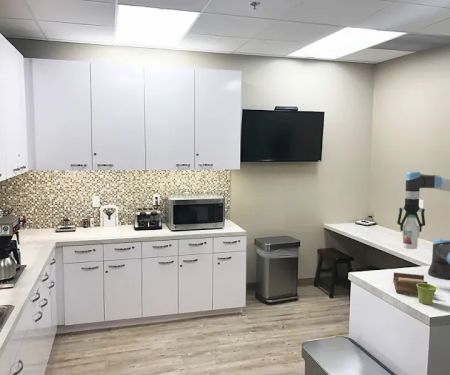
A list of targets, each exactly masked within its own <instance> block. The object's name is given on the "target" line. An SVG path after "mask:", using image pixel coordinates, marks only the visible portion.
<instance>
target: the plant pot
mask: <svg viewBox="0 0 450 375" xmlns="http://www.w3.org/2000/svg"><path fill="white" fill-rule="evenodd" d="M416 285H417V288H418V296H417V297H418V298H417V299H418V302H419V303H420V304H422V305H429V306H430V305H432V304H433V301H434V297H435V293H436V291H437V290H438V288H437V286H436V285H433V284H430V283H427V284H424V283H418V284H416Z"/></svg>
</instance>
